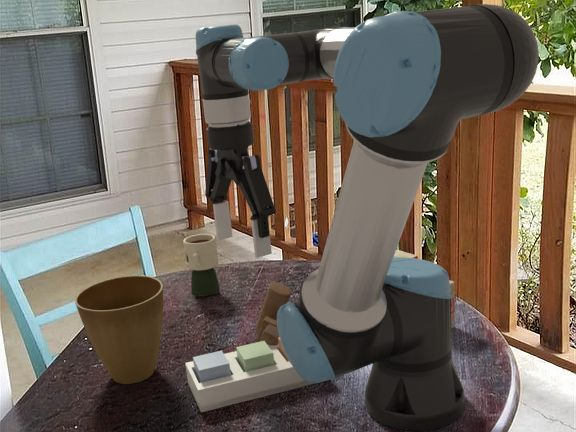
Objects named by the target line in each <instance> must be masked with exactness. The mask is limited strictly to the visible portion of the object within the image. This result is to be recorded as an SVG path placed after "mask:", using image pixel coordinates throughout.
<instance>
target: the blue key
mask: <svg viewBox="0 0 576 432" xmlns="http://www.w3.org/2000/svg"><path fill="white" fill-rule="evenodd" d="M224 354H225V353H224V352H223V350H218V351H214V352H209V353H205V354H201V355H196V356H192V361H193V363H194V370H195V376H196V378H197V380H198V382H199V383H202V382H206V381H210V380H214V379H218V378H223V377H227V376H231V372H230V364H229V362H228V360H227V358H226V357H225V355H224Z"/></svg>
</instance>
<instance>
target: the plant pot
mask: <svg viewBox="0 0 576 432" xmlns="http://www.w3.org/2000/svg"><path fill="white" fill-rule="evenodd" d="M74 303H75V306H76V309H77V311H78V314H79V317H80V319H81V323H82V324H83V325H82V326H83V327H84V329H85V332H86V335H87V336H88V339H89V340H90V341H89V342H91V345H92V347H93V349H94V351H95V352H96V355H97V356H98V358H99V360H100V361H101V363H102V365H103V366H104V368H105V370H106V371H107V372H108V374H109V375H110V377H111V378H112V379H113V381H114V382H116V383H118V384H122V385H130V384H131V385H132V384H136V383H140V382H143V381H145V380H147V379H148V378H150V377H151V376H152V375H153V374H154V372H155V369H156V365H157V361H158V356H159V353H160V352H159V350H160V346H161V337H162V330H163V319H164V317H163V316H164V314H163V313H164V286H163V282H162V281H161V280H159V279H158V278H156V277H153V276H148V275H141V274H140V275H139V274H137V275H136V274H135V275H134V274H133V275H125V276H117V277H113V278H108V279H104V280H102V281H99V282H95V283H93V284H91V285H90V286H87V287H85V288H84V289H82V290H81V291H80V292H79V293H78V294H76V297H75V299H74Z"/></svg>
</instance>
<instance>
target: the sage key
mask: <svg viewBox="0 0 576 432" xmlns="http://www.w3.org/2000/svg"><path fill="white" fill-rule="evenodd" d="M235 351H237V359H238V364H239V365H240V367H241V369H242V370H243V372H247V371H252V370H256V369H260V368H264V367H268V366H272V365H274V355H273V352H272V351H271V349H270V348H269V346H268V345H267V344H266V342H265V341H261V342H257V343H256V342H253V343H252V342H251V343H248V344H244V345H240V346H236V347H235Z"/></svg>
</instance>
